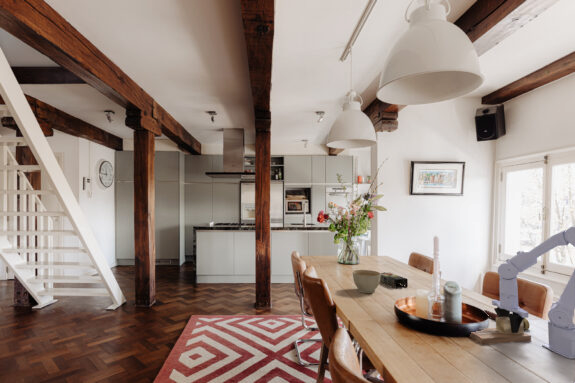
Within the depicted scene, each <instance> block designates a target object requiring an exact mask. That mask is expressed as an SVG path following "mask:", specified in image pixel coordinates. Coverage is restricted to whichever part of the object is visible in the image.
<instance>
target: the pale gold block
mask: <svg viewBox="0 0 575 383" xmlns="http://www.w3.org/2000/svg"><path fill="white" fill-rule="evenodd" d="M495 328H496V330H497V331H499V332H501V333H503V334H505V335H507V334H524V333H525V331H524V330H525V329H524V325H523V321H522V323H521V325H520V327H519V331H518V333H512V331H511V324H510V319H509V317H496V320H495Z"/></svg>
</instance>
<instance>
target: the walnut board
mask: <svg viewBox="0 0 575 383" xmlns="http://www.w3.org/2000/svg"><path fill="white" fill-rule="evenodd" d="M483 329H484V330H481V331H476V332H471V334H470V336H469V338H472V339H473V340H475V341H477V343H480V344H482V345H487V344H488V345H491V344H506V343H507V344H508V343H520V342H521V343H522V342H532V335H530V334H528V333H526V332H524V334H507V335H505V334H503V333H501V332H499V331H497V330H496V327H489V328H488V327H487V328H483Z"/></svg>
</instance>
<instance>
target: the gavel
mask: <svg viewBox="0 0 575 383" xmlns="http://www.w3.org/2000/svg"><path fill="white" fill-rule="evenodd" d="M484 311H485V312H486V313H487V314H488V315H489V317H488V318H489V319H492V320H495V321H496V317H498V315H497V313H496V312H495V313H494V312H492V311H490V310H487V309H484ZM523 325H524V330H529V329H530V326H531V325H530V322H529V320H528V319H527V318H524V320H523Z"/></svg>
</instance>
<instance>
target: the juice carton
mask: <svg viewBox="0 0 575 383" xmlns="http://www.w3.org/2000/svg"><path fill="white" fill-rule="evenodd" d="M380 273H381V276H380V282H379V283H381V282H382V283H381V284H383V285H386V286H388V285H389V287H390V286H391V288H393V289H395V288H396V289H397V284H398V285H400V284H401V285H400V286H404V288H407V287H408V286H409V285H408V283H409V282H408V281H409V279H408V278H406V277H404V276H400V275H398V274H395V273H393V272H392V273H391V272H380Z"/></svg>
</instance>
